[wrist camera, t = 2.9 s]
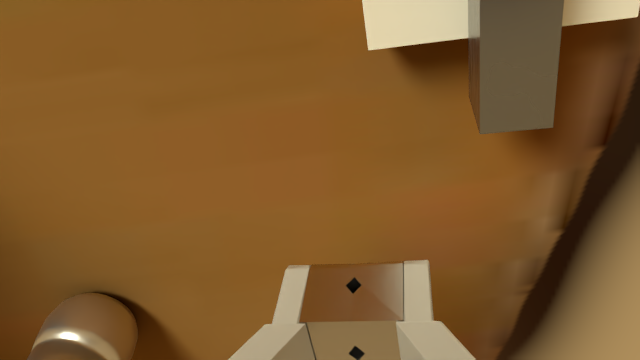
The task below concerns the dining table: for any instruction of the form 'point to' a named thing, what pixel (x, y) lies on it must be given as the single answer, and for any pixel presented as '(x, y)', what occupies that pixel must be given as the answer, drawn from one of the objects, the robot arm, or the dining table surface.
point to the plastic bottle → (87, 330)
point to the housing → (462, 19)
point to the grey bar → (513, 63)
